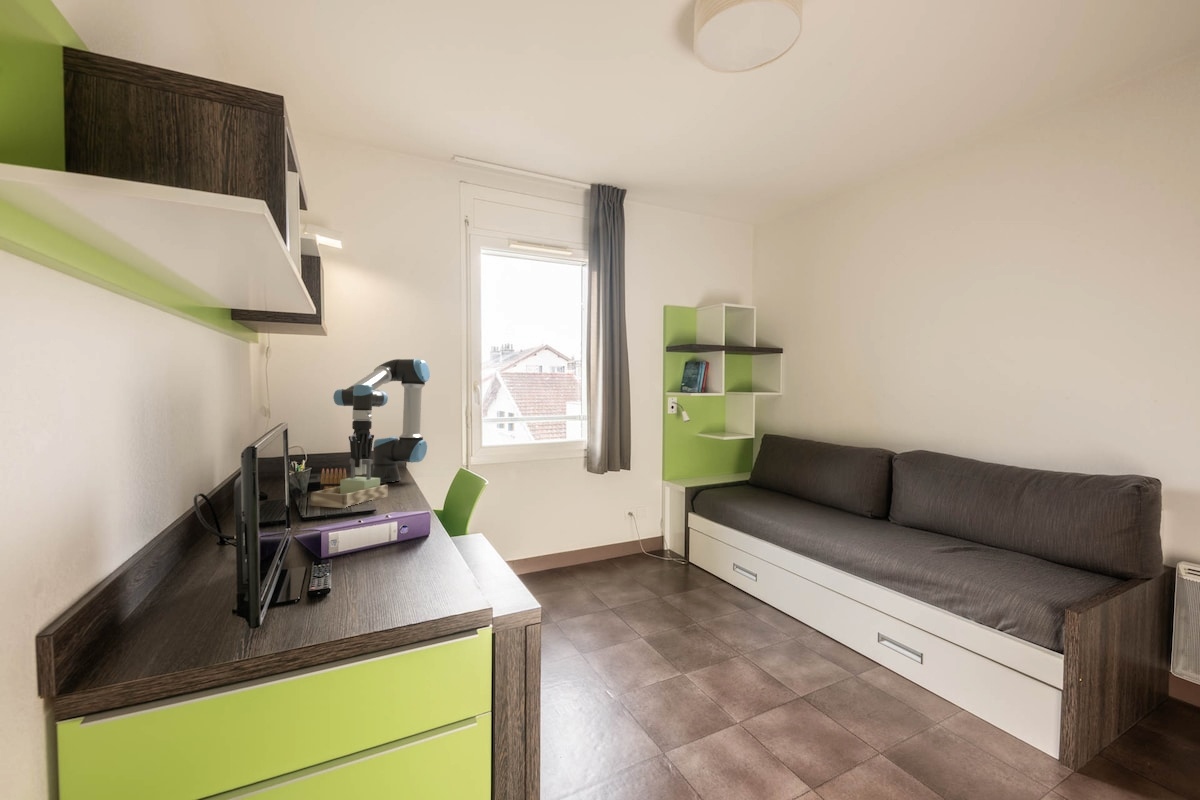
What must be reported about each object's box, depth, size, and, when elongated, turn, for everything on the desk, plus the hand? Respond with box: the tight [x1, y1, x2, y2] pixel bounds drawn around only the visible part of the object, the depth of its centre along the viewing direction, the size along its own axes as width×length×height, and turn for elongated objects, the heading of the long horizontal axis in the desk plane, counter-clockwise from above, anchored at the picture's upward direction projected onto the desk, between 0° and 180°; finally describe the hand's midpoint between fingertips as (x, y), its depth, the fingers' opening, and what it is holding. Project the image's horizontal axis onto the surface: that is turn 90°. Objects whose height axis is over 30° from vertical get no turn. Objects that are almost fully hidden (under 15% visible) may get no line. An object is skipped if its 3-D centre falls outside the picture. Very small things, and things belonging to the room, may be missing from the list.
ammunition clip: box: [319, 467, 347, 491], centre depth 221 cm, size 11×2×12 cm, turn 103°
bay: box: [310, 484, 389, 509], centre depth 208 cm, size 26×16×5 cm, turn 166°
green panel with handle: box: [340, 458, 381, 494], centre depth 213 cm, size 10×12×16 cm
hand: (360, 474), depth 213 cm, fingers closed on green panel with handle, 2 cm apart
